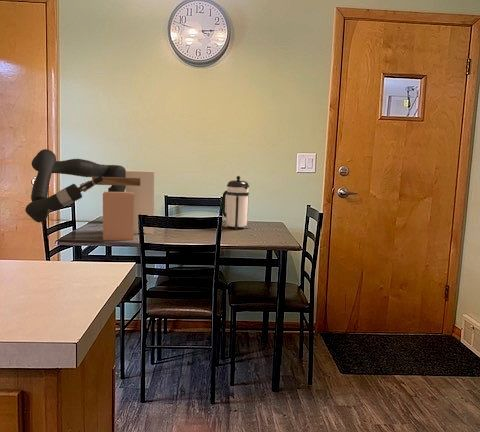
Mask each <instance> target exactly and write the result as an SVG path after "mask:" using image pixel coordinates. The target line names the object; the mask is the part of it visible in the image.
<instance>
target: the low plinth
mask: <svg viewBox="0 0 480 432" xmlns="http://www.w3.org/2000/svg"><path fill="white" fill-rule="evenodd" d="M134 237H135V234H134V192H126V191H125V192H108V191H104V192H103V193H102V240H103V241H134Z"/></svg>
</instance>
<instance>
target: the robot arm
mask: <svg viewBox="0 0 480 432" xmlns="http://www.w3.org/2000/svg"><path fill="white" fill-rule="evenodd" d="M31 166H32V168H33V170H34V171H36V172H37V175H36V177H35V180H34V181H33V186H32V189H31V195H30V200H31V202H29V203H28V204H27V205H26V207H25V210H24V211H25V213H26V214H27V215H28V216H29V217H30V218H31V220H33V221H34V222H36V223H38V224H39V223H44V221H46V220H47V218H48V217H49V210H50V211H53V212H56V211H58V210H60V209H62V208H64V207H66V206H69V205H71V204H72V203H74V202H76V201H79V200H81V199H82V198H83V194H82V192H83V193H86V192H87V191H88V190H90V189H92V188H93V187H94V186H97V185H96V184H97V183H99V182H101V181H103V178H102V177H121V178H126V170H127V169H126V168H125V167H124V166H123V165H118V164H100V163H96V162H94V161H92V160H89V159H88V160H87V159H82V158H70V159H66V160H60V161H59V160H57V156H56V154H55V153H54V152H53V151H52V150H51V149H46V148H44V149H42V150H39V152H37V154H36V155H35V156H34V158H33V159H32V160H31ZM52 174H59V175H61V174H62V175H70V176H76V177H81V178H82V177H83V178H92V177H98V178H96V179H94V180H92V179H91V180H88V181H85V182H83V183H81V184H79V186H78V185H76V184H75V183H72V184H70V185H68V186H66V187H64V188H63V189H60V190H59V191H58V192H56V193H54V194H53V195H51V196H49V197H48V195H49V188H50V181H51V177H52ZM107 189H108V190H107V192H126V185H110V186H109V187H108V188H107Z"/></svg>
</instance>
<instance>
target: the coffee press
mask: <svg viewBox="0 0 480 432" xmlns="http://www.w3.org/2000/svg"><path fill="white" fill-rule="evenodd" d="M235 179H236V180H234V179H233V180H230V181H228V183H227V184H226V188H227V190H225V191H224V192H223V194H222V198H221V212H222V215H223V217H224V218H225V223H224V225H225V226H223V228H225V229H227V227H232V228H234V231H238V228H246V229H250V226H249V223H248V218H249V217H248V214H249V195H250V192H249V188H250V185H249V183H248V182H247V181H246V180H241V176H240V175H237V176H236V178H235ZM247 226H248V227H247Z"/></svg>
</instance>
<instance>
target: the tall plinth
mask: <svg viewBox="0 0 480 432" xmlns="http://www.w3.org/2000/svg"><path fill="white" fill-rule="evenodd" d="M125 170H126V178H140V186H126V189H125V192H134V235H139V234H138V215H139V214H141V215H148V216H155V215H154V213H155V211H154V210H155V209H154V208H155V205H154V204H155V171H154V170H139V169H136V170H135V169H125ZM154 230H155V229H154V228H144V233H145V235H154Z"/></svg>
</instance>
